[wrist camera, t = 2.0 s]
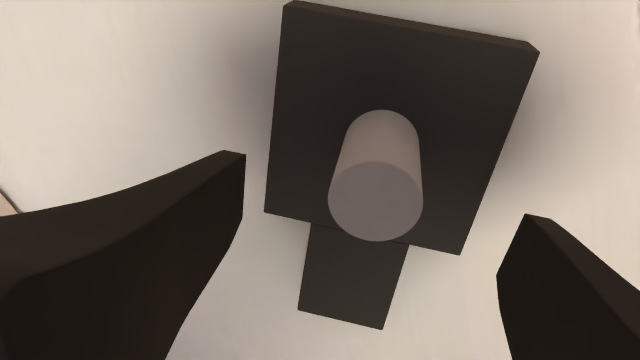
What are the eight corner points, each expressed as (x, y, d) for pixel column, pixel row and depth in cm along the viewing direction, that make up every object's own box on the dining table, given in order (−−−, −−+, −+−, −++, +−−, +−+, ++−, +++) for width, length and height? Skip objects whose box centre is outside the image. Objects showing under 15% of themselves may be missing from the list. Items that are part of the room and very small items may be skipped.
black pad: (264, 279, 21) (224, 375, 17) (293, -1, 15) (241, 26, 10) (424, 316, 21) (430, 427, 16) (528, 41, 14) (590, 91, 10)
